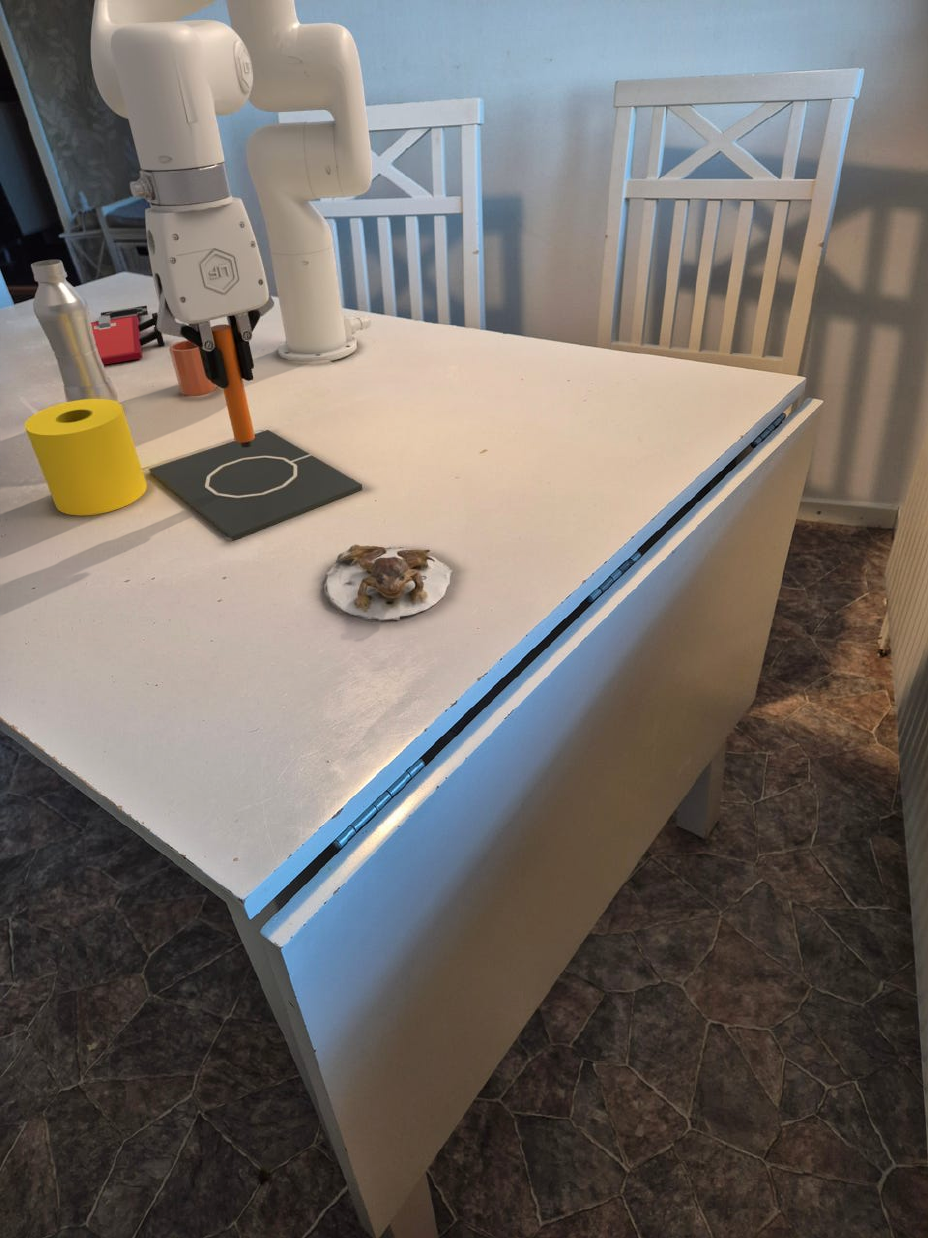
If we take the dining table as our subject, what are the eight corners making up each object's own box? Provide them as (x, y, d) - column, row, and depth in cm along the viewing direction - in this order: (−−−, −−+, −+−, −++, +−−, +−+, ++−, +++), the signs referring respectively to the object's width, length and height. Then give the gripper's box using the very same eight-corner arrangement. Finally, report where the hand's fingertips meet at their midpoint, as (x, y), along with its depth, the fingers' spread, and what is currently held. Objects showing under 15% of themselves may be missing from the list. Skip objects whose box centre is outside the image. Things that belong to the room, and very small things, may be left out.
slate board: (268, 433, 105) (267, 428, 104) (362, 489, 91) (362, 483, 90) (150, 473, 97) (148, 468, 97) (232, 540, 83) (231, 535, 82)
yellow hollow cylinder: (156, 497, 92) (132, 418, 86) (64, 524, 88) (32, 443, 82) (134, 467, 99) (111, 391, 93) (48, 490, 95) (18, 413, 89)
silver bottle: (106, 424, 110) (55, 269, 98) (62, 423, 112) (6, 269, 100) (131, 406, 115) (85, 256, 103) (89, 405, 117) (38, 257, 105)
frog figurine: (466, 609, 71) (464, 572, 69) (329, 632, 69) (322, 595, 67) (441, 544, 80) (439, 510, 78) (320, 563, 78) (314, 528, 76)
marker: (250, 439, 92) (224, 322, 84) (259, 445, 90) (234, 326, 83) (233, 445, 91) (205, 327, 83) (242, 451, 89) (214, 332, 82)
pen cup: (208, 384, 121) (196, 337, 117) (223, 392, 118) (211, 344, 114) (176, 393, 119) (163, 345, 115) (190, 402, 115) (178, 353, 111)
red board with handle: (158, 308, 156) (76, 321, 153) (153, 293, 154) (71, 306, 151) (166, 356, 133) (70, 373, 130) (161, 339, 131) (64, 355, 128)
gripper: (118, 205, 69) (175, 411, 80) (283, 178, 77) (315, 370, 88) (89, 197, 74) (146, 392, 85) (247, 172, 82) (281, 354, 93)
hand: (232, 379), depth 86 cm, fingers closed on marker, 2 cm apart
